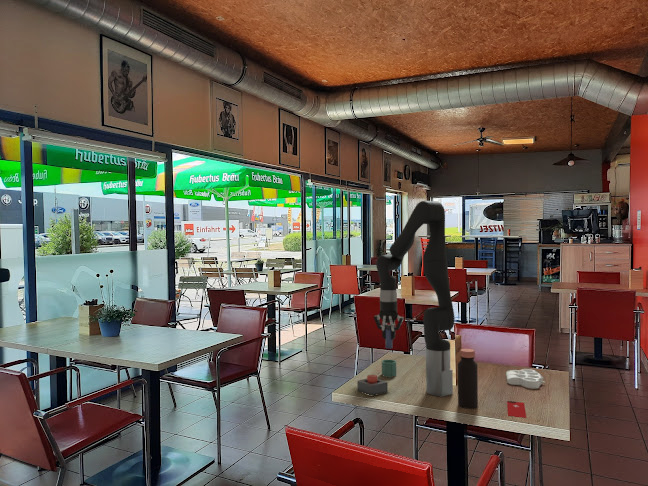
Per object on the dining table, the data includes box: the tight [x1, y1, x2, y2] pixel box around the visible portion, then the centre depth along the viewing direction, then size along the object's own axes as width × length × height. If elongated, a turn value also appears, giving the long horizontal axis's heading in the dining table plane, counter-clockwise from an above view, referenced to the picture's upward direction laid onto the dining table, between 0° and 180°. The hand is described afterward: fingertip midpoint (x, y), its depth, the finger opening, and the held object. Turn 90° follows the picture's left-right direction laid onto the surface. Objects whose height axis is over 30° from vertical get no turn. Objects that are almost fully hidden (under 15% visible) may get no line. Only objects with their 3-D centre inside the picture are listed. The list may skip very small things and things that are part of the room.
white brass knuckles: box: [506, 368, 546, 390], centre depth 198 cm, size 3×18×15 cm
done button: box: [366, 374, 378, 384], centre depth 188 cm, size 4×4×3 cm
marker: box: [385, 324, 393, 350], centre depth 210 cm, size 3×3×10 cm
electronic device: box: [506, 400, 527, 419], centre depth 167 cm, size 6×1×15 cm
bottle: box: [457, 348, 479, 410], centre depth 171 cm, size 7×7×20 cm
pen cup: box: [381, 359, 397, 378], centre depth 210 cm, size 6×6×6 cm
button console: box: [356, 377, 389, 396], centre depth 188 cm, size 8×8×4 cm
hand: (388, 338), depth 210 cm, fingers closed on marker, 3 cm apart
